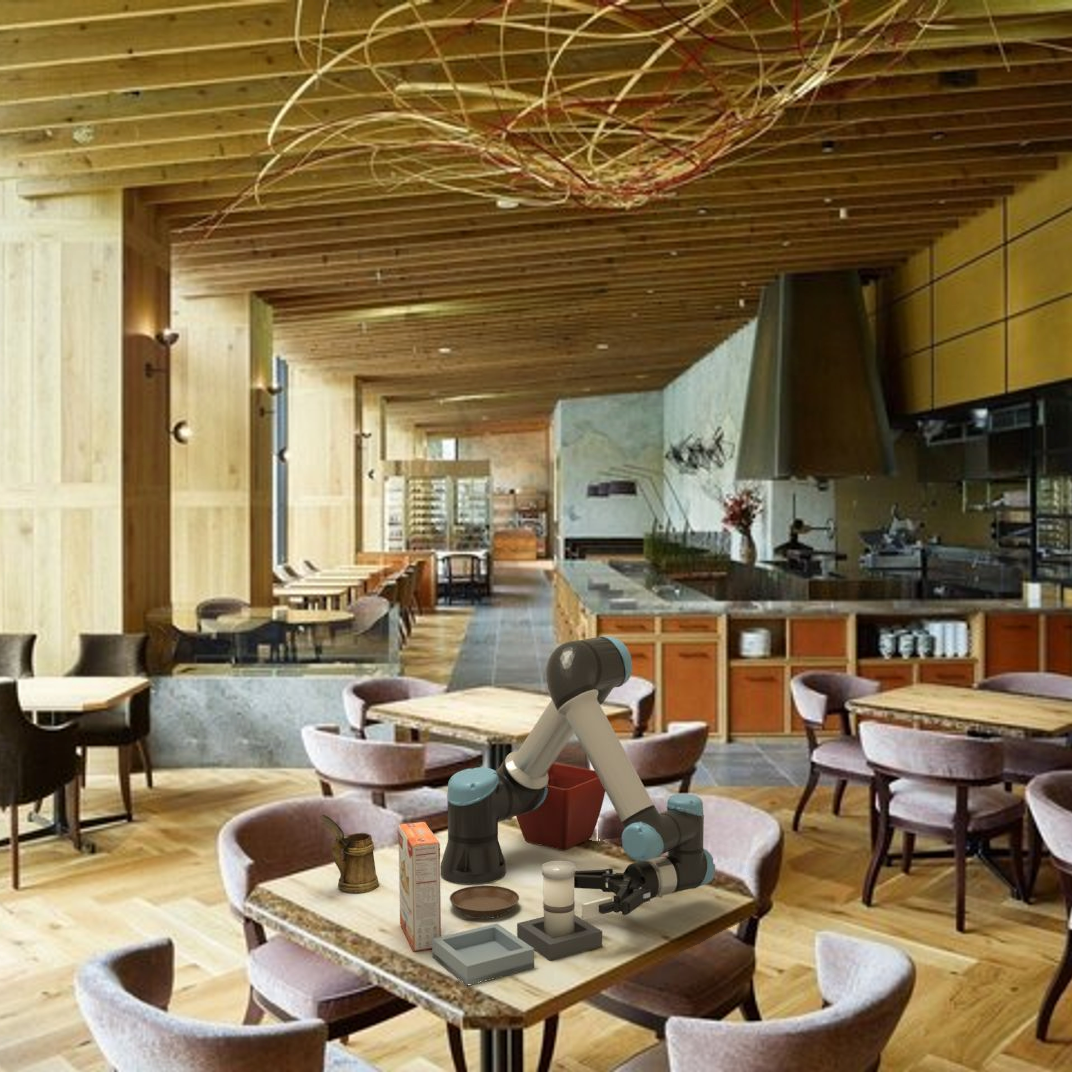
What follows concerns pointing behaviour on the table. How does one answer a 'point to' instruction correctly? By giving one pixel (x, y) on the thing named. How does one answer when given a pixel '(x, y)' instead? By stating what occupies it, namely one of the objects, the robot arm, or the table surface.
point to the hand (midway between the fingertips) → (563, 900)
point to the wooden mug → (353, 859)
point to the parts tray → (482, 953)
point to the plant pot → (565, 809)
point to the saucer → (484, 901)
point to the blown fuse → (558, 898)
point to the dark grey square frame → (559, 938)
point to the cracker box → (419, 884)
